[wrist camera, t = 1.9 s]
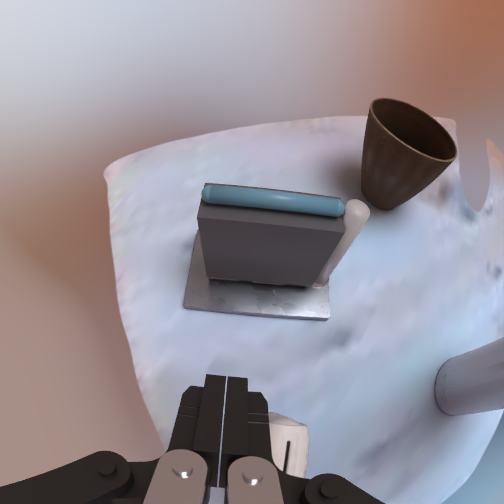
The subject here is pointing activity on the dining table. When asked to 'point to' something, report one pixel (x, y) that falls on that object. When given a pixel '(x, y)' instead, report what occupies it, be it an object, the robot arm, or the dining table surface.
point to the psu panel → (253, 295)
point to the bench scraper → (275, 233)
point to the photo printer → (289, 444)
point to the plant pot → (402, 152)
